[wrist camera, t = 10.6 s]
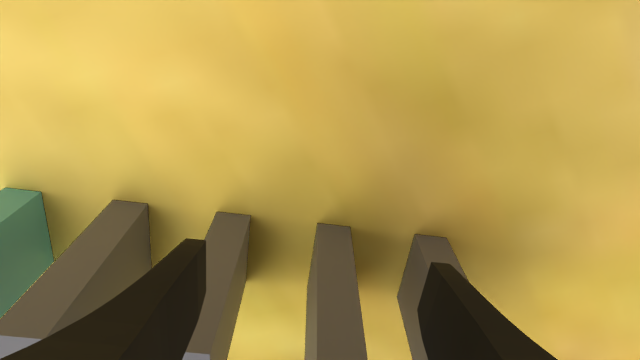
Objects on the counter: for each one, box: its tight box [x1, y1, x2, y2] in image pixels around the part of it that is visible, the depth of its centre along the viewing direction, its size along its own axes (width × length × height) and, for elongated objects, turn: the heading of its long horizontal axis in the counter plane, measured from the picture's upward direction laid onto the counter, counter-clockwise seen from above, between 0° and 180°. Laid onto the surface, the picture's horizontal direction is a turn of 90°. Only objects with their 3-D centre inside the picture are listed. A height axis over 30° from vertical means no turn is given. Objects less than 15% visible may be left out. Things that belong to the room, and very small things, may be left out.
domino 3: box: [305, 223, 367, 360], centre depth 21 cm, size 5×2×10 cm, turn 172°
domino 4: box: [397, 234, 469, 360], centre depth 21 cm, size 5×2×10 cm, turn 172°
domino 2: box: [182, 212, 251, 360], centre depth 21 cm, size 5×2×10 cm, turn 172°
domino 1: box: [0, 200, 152, 359], centre depth 20 cm, size 5×2×10 cm, turn 172°
